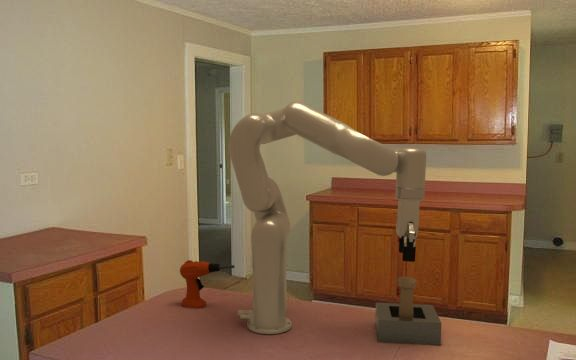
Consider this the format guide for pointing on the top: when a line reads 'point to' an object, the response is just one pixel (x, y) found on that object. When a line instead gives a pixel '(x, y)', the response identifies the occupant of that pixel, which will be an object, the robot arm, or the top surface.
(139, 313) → the top surface
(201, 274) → the toy drill
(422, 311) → the socket block
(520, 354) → the top surface
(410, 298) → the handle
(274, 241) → the robot arm
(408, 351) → the top surface
